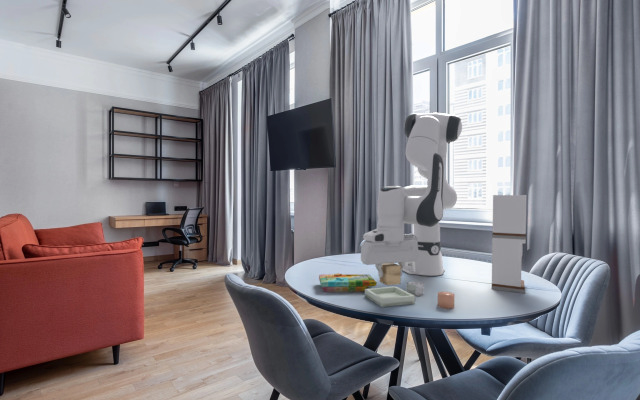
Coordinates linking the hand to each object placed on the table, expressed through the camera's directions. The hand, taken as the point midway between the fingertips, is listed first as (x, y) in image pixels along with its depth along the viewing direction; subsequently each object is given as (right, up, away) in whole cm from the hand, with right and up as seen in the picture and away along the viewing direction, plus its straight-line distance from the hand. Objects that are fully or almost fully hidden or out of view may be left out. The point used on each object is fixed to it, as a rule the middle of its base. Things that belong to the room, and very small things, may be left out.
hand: (390, 276), depth 115 cm
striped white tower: (+48, -8, +17) cm, 52 cm away
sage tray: (0, -8, 0) cm, 8 cm away
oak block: (0, -2, 0) cm, 2 cm away
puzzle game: (-13, -8, +15) cm, 22 cm away
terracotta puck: (+17, -8, -6) cm, 19 cm away
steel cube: (+10, -8, +7) cm, 15 cm away
